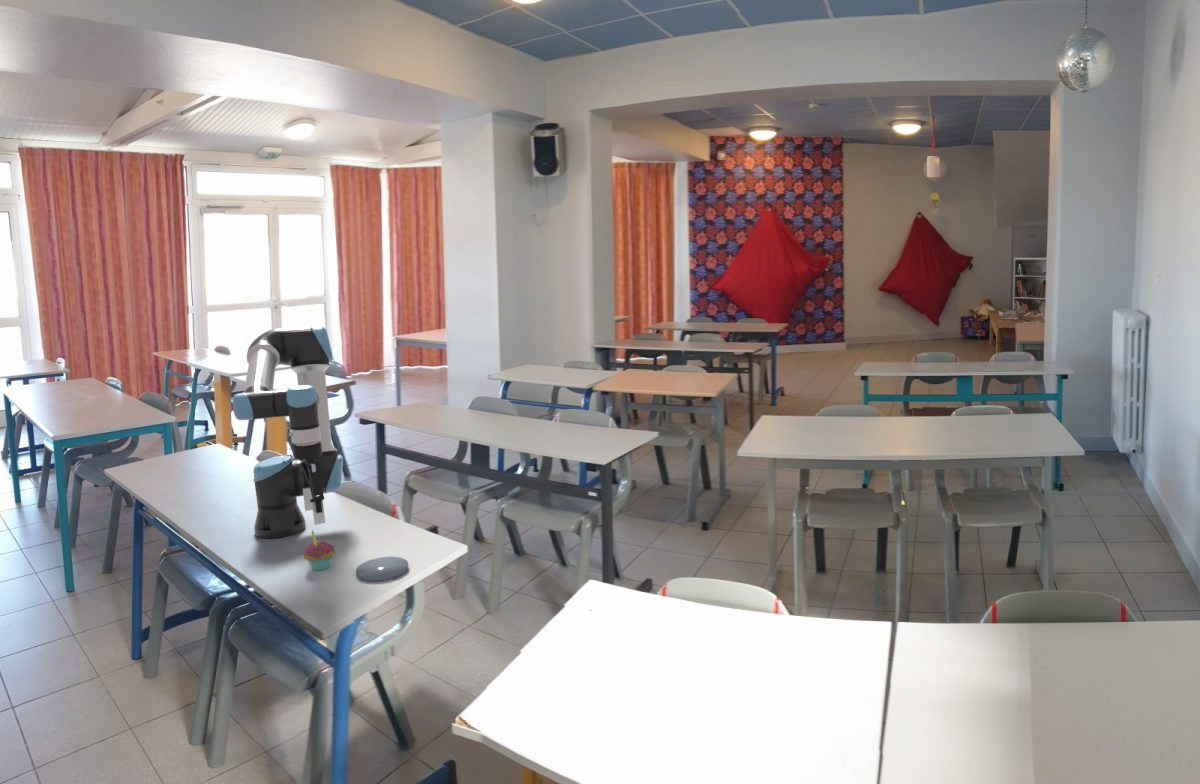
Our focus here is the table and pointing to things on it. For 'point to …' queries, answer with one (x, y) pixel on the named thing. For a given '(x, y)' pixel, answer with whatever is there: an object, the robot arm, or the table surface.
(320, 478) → the robot arm
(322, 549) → the cupcake
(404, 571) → the slate plate
